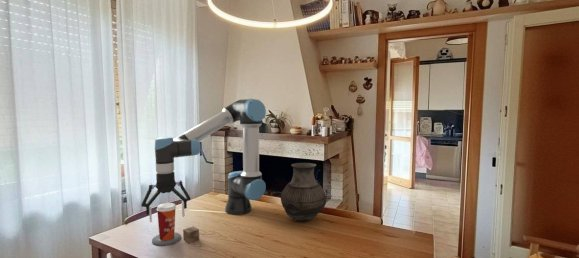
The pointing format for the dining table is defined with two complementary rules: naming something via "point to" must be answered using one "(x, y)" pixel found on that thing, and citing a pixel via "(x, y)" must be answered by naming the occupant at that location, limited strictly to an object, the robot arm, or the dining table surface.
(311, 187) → the vase
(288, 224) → the dining table surface
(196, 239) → the walnut cube
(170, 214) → the coffee cup
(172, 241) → the slate coaster
